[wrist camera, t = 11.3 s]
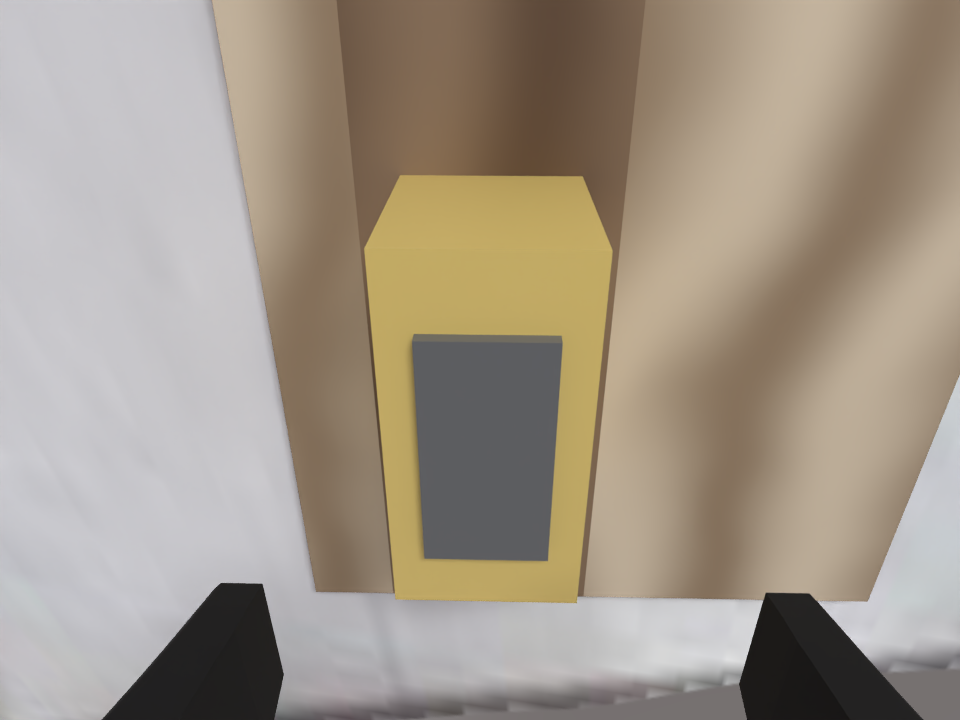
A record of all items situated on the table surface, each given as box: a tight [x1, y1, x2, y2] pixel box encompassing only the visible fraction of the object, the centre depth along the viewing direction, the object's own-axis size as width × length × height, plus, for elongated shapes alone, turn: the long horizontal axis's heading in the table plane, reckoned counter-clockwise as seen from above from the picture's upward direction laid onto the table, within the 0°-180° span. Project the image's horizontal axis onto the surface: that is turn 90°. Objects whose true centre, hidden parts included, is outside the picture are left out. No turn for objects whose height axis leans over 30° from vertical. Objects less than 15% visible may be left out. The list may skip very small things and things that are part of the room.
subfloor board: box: [212, 0, 960, 602], centre depth 19 cm, size 19×20×1 cm
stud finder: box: [364, 175, 613, 603], centre depth 16 cm, size 4×9×5 cm, turn 0°
